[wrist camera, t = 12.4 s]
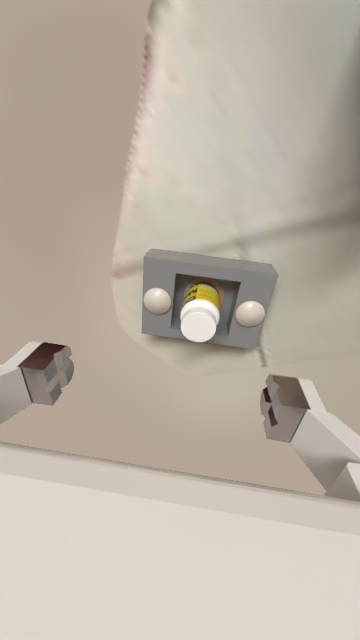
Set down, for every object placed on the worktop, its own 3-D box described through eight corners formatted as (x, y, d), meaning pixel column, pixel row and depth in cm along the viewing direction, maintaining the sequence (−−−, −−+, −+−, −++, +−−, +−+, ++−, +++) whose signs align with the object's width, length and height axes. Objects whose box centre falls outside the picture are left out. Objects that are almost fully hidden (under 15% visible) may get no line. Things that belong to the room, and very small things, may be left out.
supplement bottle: (195, 274, 33) (189, 301, 26) (226, 290, 34) (228, 321, 27) (179, 302, 36) (170, 334, 28) (208, 317, 36) (206, 351, 29)
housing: (271, 264, 32) (279, 275, 29) (250, 334, 38) (255, 351, 34) (150, 248, 33) (142, 257, 29) (148, 319, 39) (141, 334, 35)
